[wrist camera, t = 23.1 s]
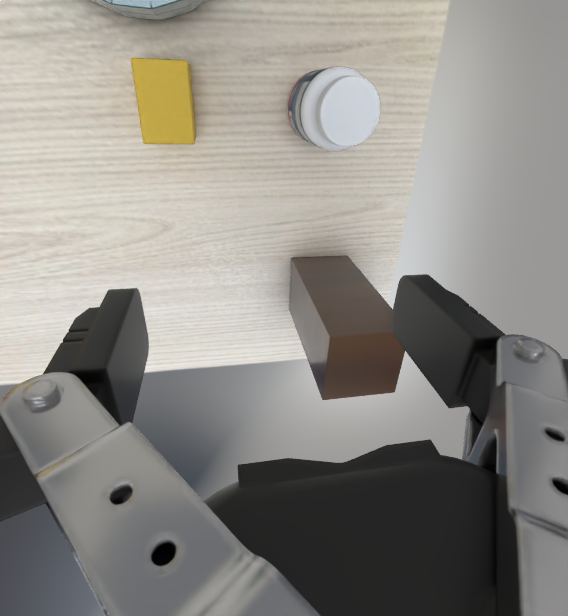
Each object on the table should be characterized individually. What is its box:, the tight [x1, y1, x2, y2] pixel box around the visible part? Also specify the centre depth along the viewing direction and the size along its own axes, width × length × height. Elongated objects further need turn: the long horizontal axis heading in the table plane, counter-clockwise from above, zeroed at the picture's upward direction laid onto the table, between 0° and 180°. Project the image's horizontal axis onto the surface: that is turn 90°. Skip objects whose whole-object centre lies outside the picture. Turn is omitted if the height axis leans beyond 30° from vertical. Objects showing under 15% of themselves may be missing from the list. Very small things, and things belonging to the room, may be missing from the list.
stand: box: [289, 256, 405, 400], centre depth 33 cm, size 6×6×14 cm
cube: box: [131, 58, 196, 144], centre depth 27 cm, size 5×4×4 cm
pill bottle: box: [287, 66, 381, 151], centre depth 27 cm, size 5×5×9 cm
